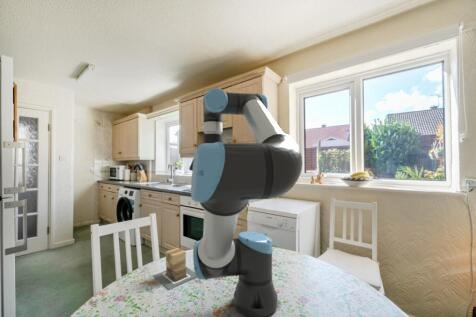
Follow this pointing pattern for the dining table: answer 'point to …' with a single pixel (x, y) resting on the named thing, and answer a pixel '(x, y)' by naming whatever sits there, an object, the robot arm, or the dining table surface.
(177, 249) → the oak block
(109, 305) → the dining table surface
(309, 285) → the dining table surface
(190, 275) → the mat
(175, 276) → the base block
